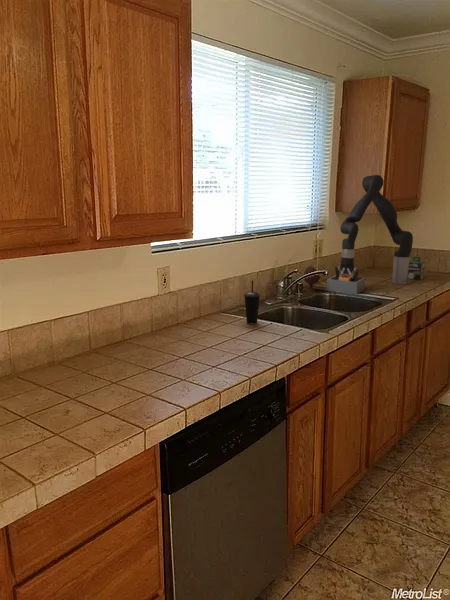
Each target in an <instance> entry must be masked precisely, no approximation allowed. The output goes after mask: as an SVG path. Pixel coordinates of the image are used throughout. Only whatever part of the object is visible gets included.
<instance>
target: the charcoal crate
mask: <svg viewBox="0 0 450 600" xmlns="http://www.w3.org/2000/svg"><path fill="white" fill-rule="evenodd" d="M365 286H366V277H359V276H357V278H354V282H351V281H342V280H339V277H337V276H336V274H335V275H333V276H331V277H329V278H327V279H326V291H327V290H329V291H328V292H333V291H338V292H337V293H341V292H343V294H348V295H349V294H350V295H358V294H359V293H361V292H363V291H364V290H366V289H365V288H366V287H365ZM362 290H363V291H362Z"/></svg>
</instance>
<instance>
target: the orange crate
mask: <svg viewBox="0 0 450 600" xmlns="http://www.w3.org/2000/svg"><path fill="white" fill-rule="evenodd" d="M339 280H342V281H351V277H350V275H349V274H343V276H340V277H339Z"/></svg>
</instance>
